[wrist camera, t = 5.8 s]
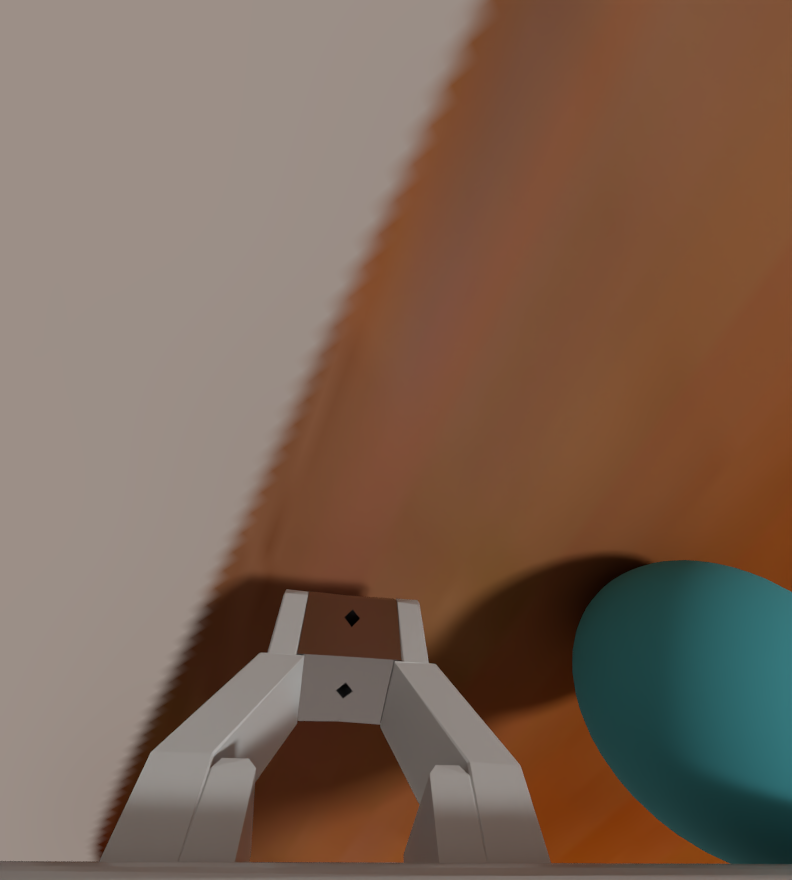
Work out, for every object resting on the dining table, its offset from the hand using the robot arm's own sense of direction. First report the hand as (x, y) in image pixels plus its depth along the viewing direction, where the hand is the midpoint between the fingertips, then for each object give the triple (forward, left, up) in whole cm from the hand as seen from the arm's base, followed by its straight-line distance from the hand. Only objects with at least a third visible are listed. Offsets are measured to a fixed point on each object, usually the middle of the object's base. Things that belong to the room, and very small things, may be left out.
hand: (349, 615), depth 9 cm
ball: (-5, -6, +1) cm, 8 cm away
